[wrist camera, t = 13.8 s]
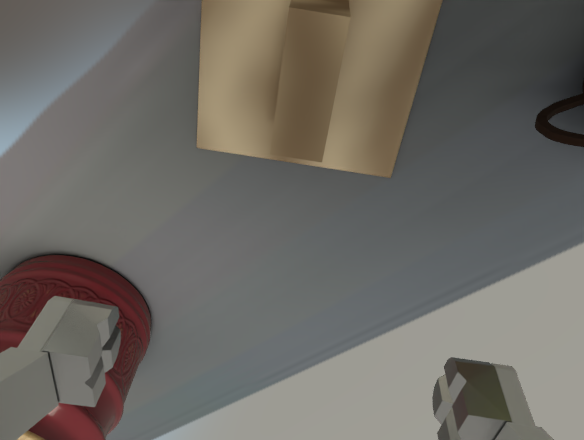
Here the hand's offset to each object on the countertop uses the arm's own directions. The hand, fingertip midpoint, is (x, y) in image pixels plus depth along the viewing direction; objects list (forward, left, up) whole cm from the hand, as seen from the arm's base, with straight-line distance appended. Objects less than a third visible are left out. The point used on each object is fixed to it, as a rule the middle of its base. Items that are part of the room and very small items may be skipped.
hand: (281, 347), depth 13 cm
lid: (0, 0, -22) cm, 22 cm away
